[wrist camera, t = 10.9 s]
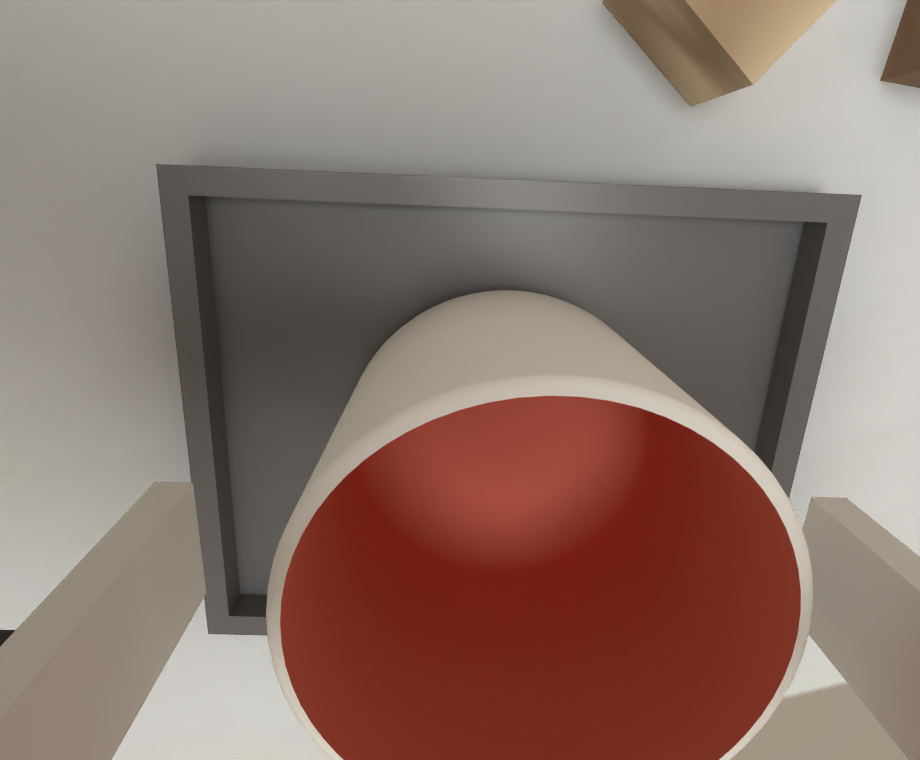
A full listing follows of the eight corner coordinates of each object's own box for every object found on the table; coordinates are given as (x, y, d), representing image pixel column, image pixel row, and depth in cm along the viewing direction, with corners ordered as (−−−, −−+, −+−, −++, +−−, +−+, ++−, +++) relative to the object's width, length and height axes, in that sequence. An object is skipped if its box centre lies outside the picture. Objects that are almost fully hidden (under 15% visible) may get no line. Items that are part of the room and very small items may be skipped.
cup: (478, 600, 22) (497, 904, 13) (292, 412, 20) (145, 613, 10) (700, 445, 20) (916, 664, 11) (524, 216, 18) (604, 243, 9)
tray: (228, 597, 23) (208, 633, 21) (187, 166, 18) (156, 164, 16) (729, 610, 24) (753, 647, 22) (820, 194, 19) (861, 195, 17)
